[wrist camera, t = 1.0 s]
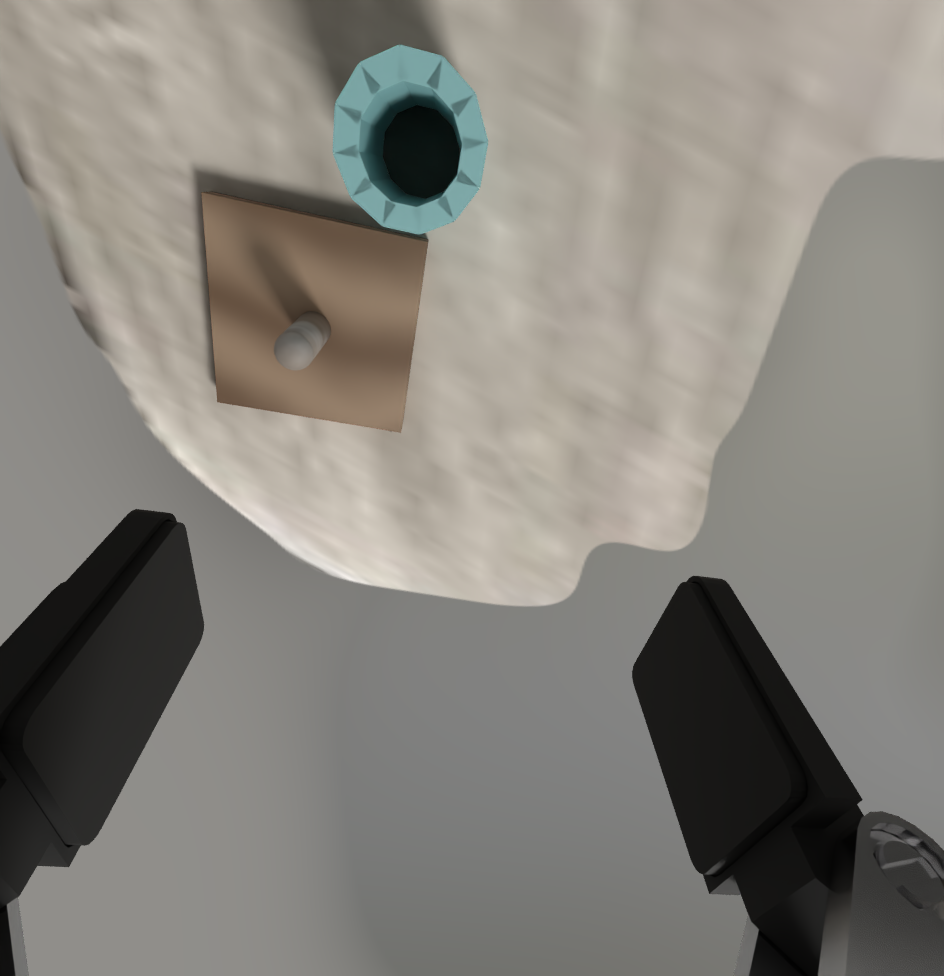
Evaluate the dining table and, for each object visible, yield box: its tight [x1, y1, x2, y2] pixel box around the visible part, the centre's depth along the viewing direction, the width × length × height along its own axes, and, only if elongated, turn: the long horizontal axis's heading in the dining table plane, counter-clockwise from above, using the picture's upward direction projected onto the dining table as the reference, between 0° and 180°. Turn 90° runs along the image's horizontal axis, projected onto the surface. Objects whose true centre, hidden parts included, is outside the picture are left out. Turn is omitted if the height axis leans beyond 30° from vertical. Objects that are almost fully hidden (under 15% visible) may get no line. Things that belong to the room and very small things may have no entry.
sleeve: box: [333, 44, 488, 234], centre depth 23 cm, size 6×6×8 cm
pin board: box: [201, 192, 428, 433], centre depth 28 cm, size 12×12×7 cm
